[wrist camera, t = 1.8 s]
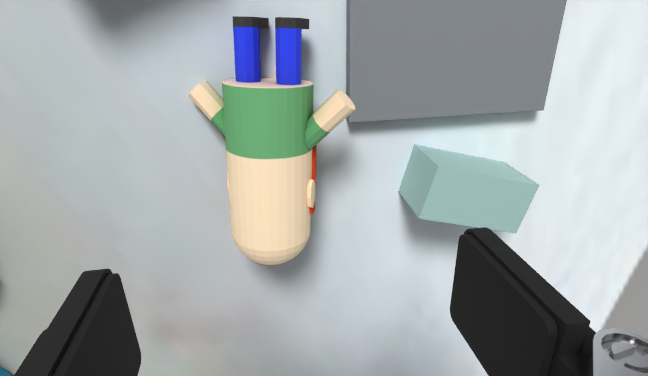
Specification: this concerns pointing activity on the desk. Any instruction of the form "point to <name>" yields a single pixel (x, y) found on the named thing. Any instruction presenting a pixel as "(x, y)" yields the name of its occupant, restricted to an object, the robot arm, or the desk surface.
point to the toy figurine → (270, 141)
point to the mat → (449, 56)
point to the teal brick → (466, 190)
